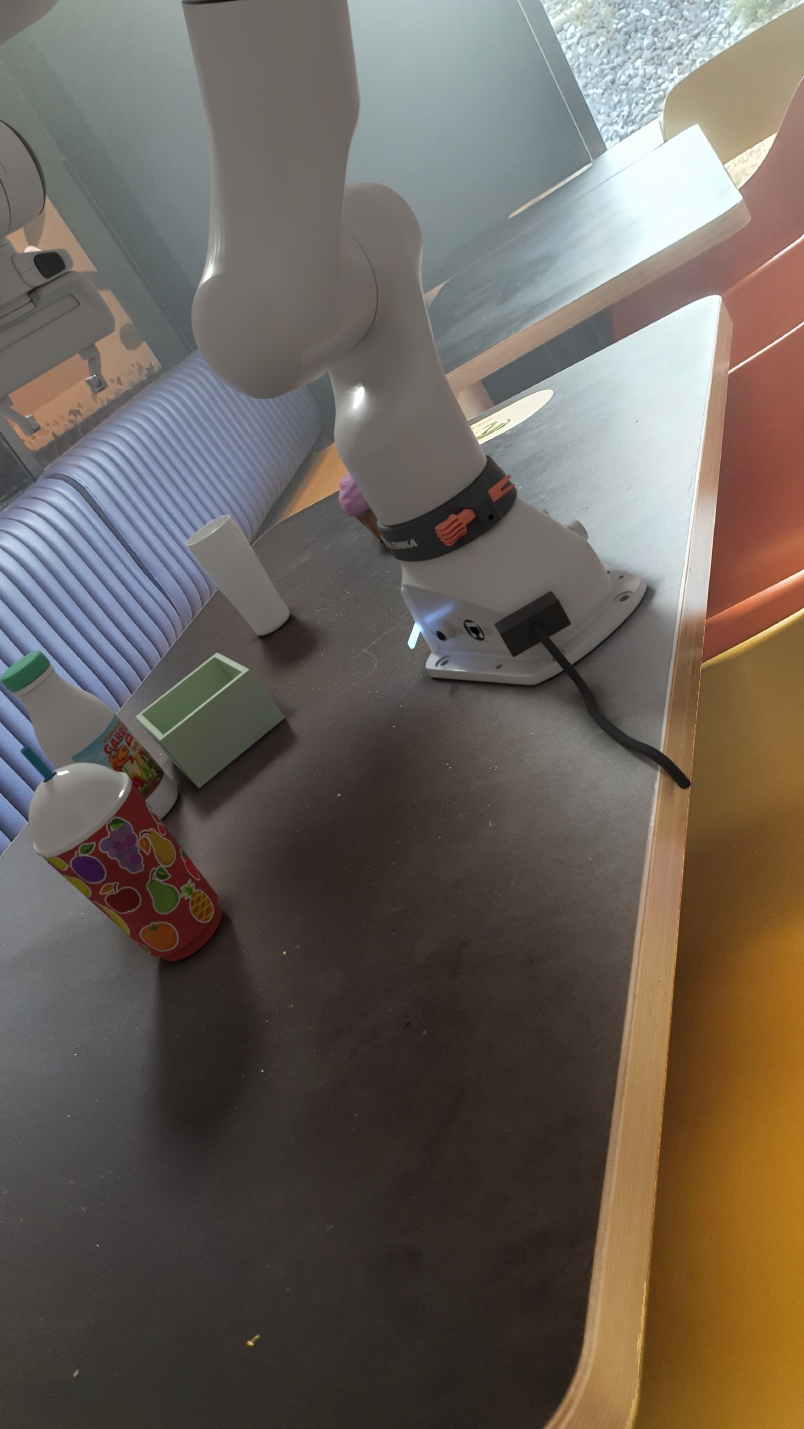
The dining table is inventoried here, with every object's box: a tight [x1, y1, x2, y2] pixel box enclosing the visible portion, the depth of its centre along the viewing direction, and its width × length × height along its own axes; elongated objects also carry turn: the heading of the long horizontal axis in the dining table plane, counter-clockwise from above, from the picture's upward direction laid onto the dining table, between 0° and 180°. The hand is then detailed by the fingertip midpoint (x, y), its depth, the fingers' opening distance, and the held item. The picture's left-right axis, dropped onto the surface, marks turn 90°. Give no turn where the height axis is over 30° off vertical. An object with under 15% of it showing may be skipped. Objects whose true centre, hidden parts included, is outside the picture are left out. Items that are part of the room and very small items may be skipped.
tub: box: [135, 652, 286, 789], centre depth 103 cm, size 11×11×7 cm
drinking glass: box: [185, 514, 291, 637], centre depth 123 cm, size 7×7×15 cm
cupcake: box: [338, 472, 384, 542], centre depth 129 cm, size 9×9×10 cm
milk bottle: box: [0, 650, 179, 821], centre depth 95 cm, size 8×8×20 cm
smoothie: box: [19, 745, 222, 962], centre depth 72 cm, size 8×8×20 cm
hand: (68, 411), depth 108 cm, fingers open, 8 cm apart
